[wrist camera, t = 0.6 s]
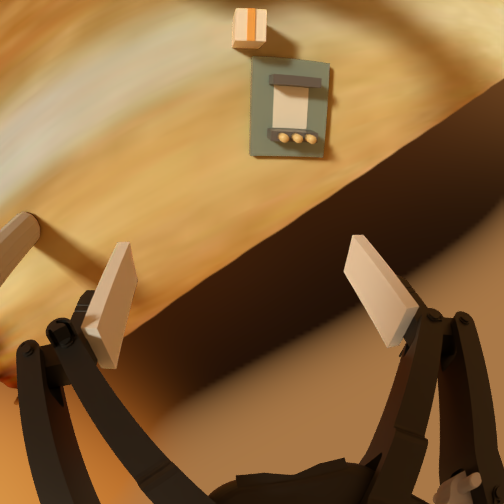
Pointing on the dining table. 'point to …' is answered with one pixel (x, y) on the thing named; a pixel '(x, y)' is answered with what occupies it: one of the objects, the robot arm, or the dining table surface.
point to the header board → (288, 107)
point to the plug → (249, 28)
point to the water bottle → (16, 242)
